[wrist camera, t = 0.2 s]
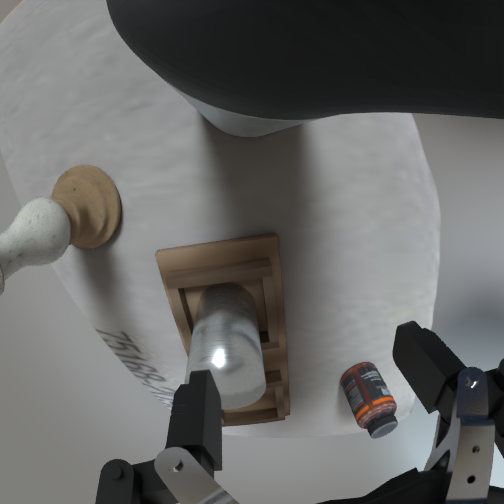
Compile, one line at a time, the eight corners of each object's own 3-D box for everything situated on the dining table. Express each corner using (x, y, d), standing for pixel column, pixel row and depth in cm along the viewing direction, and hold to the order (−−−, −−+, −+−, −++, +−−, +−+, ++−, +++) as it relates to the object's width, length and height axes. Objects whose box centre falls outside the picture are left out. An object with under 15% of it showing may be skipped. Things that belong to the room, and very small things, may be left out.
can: (192, 286, 27) (174, 364, 17) (251, 278, 27) (262, 356, 17) (204, 331, 29) (196, 411, 19) (257, 325, 29) (269, 405, 19)
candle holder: (104, 260, 26) (-5, 402, 8) (47, 220, 24) (-82, 316, 5) (136, 190, 24) (-28, 304, 5) (72, 150, 21) (-99, 198, 3)
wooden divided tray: (157, 250, 26) (149, 262, 24) (276, 233, 26) (281, 244, 24) (215, 418, 38) (215, 432, 35) (288, 410, 38) (291, 424, 35)
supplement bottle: (338, 390, 37) (359, 447, 27) (341, 366, 35) (367, 428, 24) (372, 380, 37) (398, 432, 27) (377, 355, 35) (409, 412, 24)
